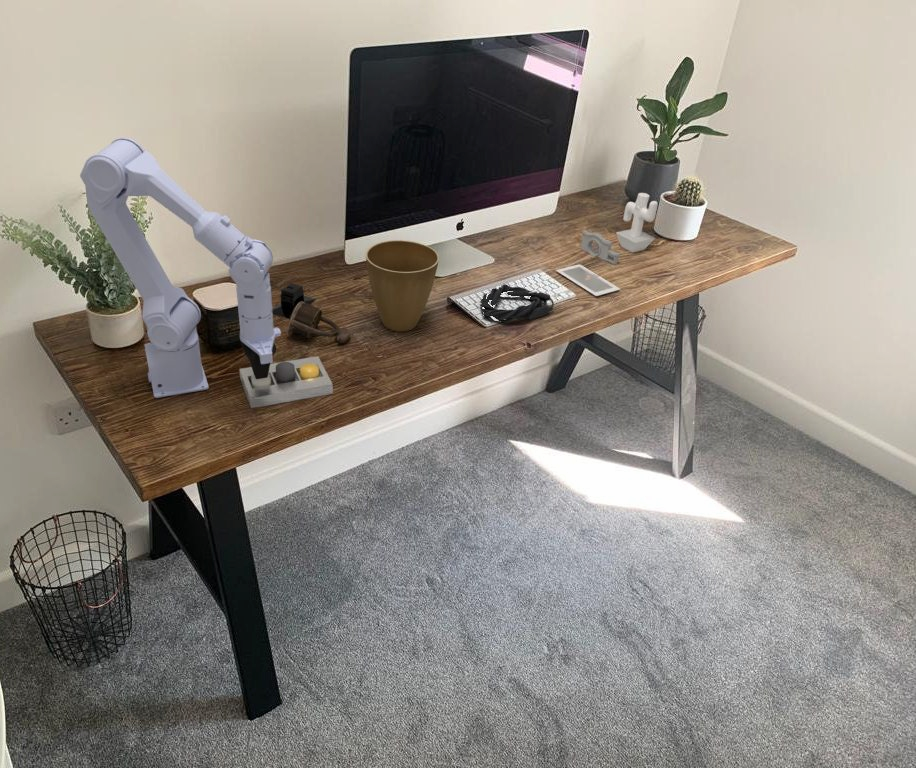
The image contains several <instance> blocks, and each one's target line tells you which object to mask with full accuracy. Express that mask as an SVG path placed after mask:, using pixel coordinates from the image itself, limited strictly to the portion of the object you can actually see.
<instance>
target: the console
mask: <svg viewBox="0 0 916 768" xmlns="http://www.w3.org/2000/svg"><path fill="white" fill-rule="evenodd" d="M281 362H282V361H281ZM281 362H272V363H270V367H269V374H270V377H271V385H270V386H265V387H259V388H253V389H252V379H251V376H252V375H253V374H254V373H253V370H252V367H251V366H249V367H243V368H239V377H240V378H239V379H240V381H241V386H242V388H243V389H244V392H245V395H246V397H247V400H248V403H249V406H250V408H251V409H254V408H261V407H267V406H273V405H278V404H283V403H288V402H293V401H299V400H300V401H301V400H306V399H311V398H316V397H321V396H323V397H324V396H327V395H333V394H334V393H333V392H334V390H333V389H334V386H333V385H334V384H333V382H332V379H331V378H330V377H329V374H328V372H327V371H326V369H325V366H324V365H323V363H322V361H321V359H320V357H319V356H312V357H311V356H310V357H306V358H305V357H304V358H300V359H293V360H287V361H285V362H290V363H292V364H294V367H295V381H294V382H288V383H282V384H278V383H277V380H276V365H277V364H279V363H281ZM309 363H311V364H315V365H317V366H318V367H319V377H317V378H311V379H305V380H301V377H300V367H301V366H302V365H304V364H309Z"/></svg>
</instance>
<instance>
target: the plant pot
mask: <svg viewBox="0 0 916 768" xmlns="http://www.w3.org/2000/svg"><path fill="white" fill-rule="evenodd" d="M365 260H366V261H365V262H366V268H367V273H368V278H369V285H370V288H371V293H372V296H373V299H374V303H375V306H376V310H377V313H378V315H379V317H380V320H381V323H382V325H383V326H384V327H385V328H386V329H388V330H392V331H393V332H394V331H396V332H407V331H410V330H413V329H414V328H415V327H417V325H418V324H419V321H420V319H421V317H422V315H423V313H424V310H425V308H426V305H427V303H428V301H429V298H430V295H431V293H432V289H433V285H434V281H435V278H436V274H437V270H438V264H439V261H440V256H439V254H438V252H437V251H436V250H435V249H434V248H432V247H431V246H429V245H426V244H423V243H420V242H417V241H411V240H403V239H400V240H399V239H395V240H385V241H381V242H378V243H375V244H373V245H371V246H370V247H369V248H367V250H366V251H365Z"/></svg>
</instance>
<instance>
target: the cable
mask: <svg viewBox="0 0 916 768" xmlns="http://www.w3.org/2000/svg"><path fill="white" fill-rule="evenodd" d="M507 291H513V292H508V293H507V294H508V295H511V296H520V297H519V298H523V297H524V296H531V297H530V299H531V303H530V304H527V305H525V304H524V305H520V306H517V307H516V308H513V309H496V307H495V308H493V307H491V306H490V305H489V304H488V302H489V300H492V301H491V305H492V306H493V305H495V304H496V303H497V304H498V302H499V299H500V298H499V297H500V295H501V293H503V292H507ZM489 293H490V294H489V295H488V297H487V299H486V295H487V293H485V294H484V293H483V295H482V298H483V299H482V300H481V299H480V300H481V301H480V304H479V306H480V307H481V308H482V307H484V308H485V309H482V311H483V312H484V314H483V312H482V311H481V312H482V316H483V315H484V316H485V315H487V316H485V317H489V316H493V317H495V318H496V319H498V320H499V321H501V322H500V323H508V322H511V321H515V320H524V319H525V320H526V319H528V320H531V321H532V320H534V319H535V320H536V319H538V318H541V317H544V316H546V315H548V314H549V313H550V312H551V311H553V309H554V305H555V302H554V299H552V297H551V296H550V294H547V293H545V292H540V291H539V292H538V291H537V290H536V291H533V290H532V291H531V290H529V289H526V288H524V287H522V286H521V287H519V286H509V285H508V284H507V283H506V284H505V283H503V284H502V285H501V286H499V287H498V289H497V288H496V287H493V288H491V290H490V292H489ZM548 301H550V302H551V305H550V306H548ZM481 303H482V304H481ZM497 304H496V305H497Z"/></svg>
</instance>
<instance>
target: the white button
mask: <svg viewBox="0 0 916 768" xmlns="http://www.w3.org/2000/svg"><path fill="white" fill-rule="evenodd" d="M251 379H252V386H251V387H252V389H253V388H259V387H265V386H270V385H272V384H271V377H270V374H269V373H268V377H267V378H262V379H256V378H255V375H254V374H253V375H252V376H251Z"/></svg>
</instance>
